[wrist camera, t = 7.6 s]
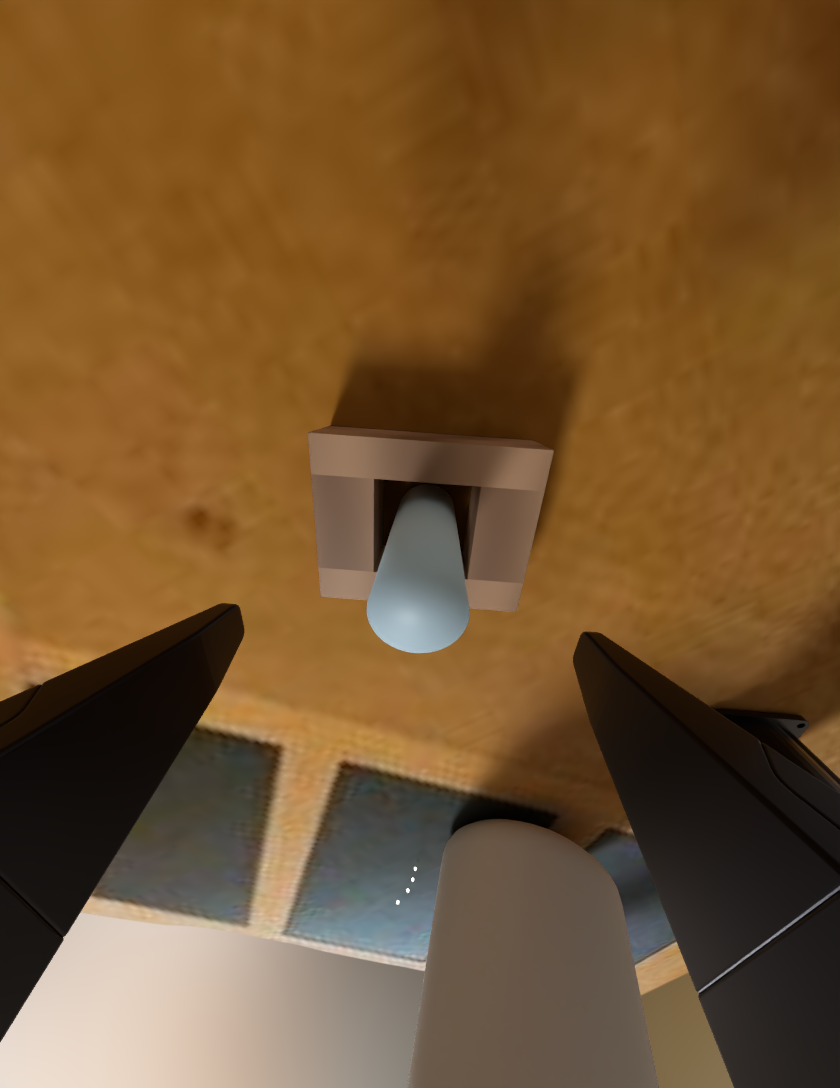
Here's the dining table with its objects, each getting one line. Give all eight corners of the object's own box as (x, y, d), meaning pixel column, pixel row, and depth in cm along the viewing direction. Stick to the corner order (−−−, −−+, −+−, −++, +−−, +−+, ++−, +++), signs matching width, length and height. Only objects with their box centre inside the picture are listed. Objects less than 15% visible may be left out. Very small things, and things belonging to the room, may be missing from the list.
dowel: (457, 486, 17) (476, 573, 9) (451, 538, 18) (462, 657, 10) (399, 482, 17) (366, 564, 9) (397, 534, 18) (366, 648, 10)
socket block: (533, 440, 16) (554, 450, 13) (505, 581, 19) (516, 612, 17) (329, 425, 16) (307, 432, 13) (337, 568, 19) (320, 596, 17)
